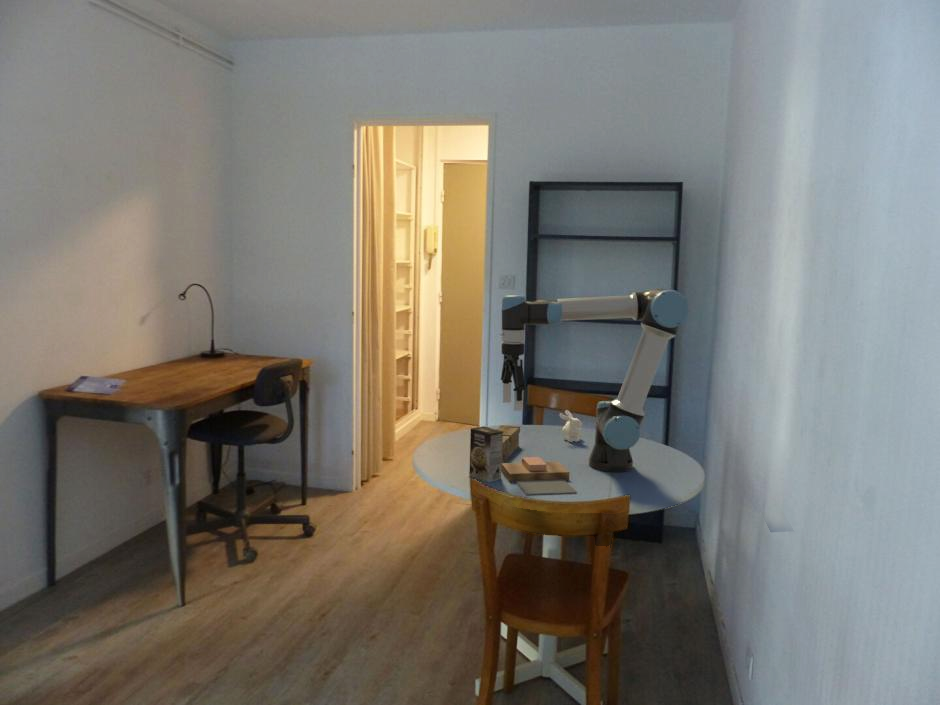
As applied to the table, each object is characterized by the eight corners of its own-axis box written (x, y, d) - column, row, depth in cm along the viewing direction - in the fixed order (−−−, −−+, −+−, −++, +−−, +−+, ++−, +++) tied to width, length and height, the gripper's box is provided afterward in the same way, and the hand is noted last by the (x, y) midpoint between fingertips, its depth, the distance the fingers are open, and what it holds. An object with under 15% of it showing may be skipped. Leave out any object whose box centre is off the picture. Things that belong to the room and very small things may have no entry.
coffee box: (468, 476, 228) (469, 428, 226) (482, 472, 233) (483, 425, 231) (488, 483, 222) (489, 433, 220) (502, 479, 226) (503, 430, 224)
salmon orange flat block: (521, 463, 236) (522, 457, 236) (538, 462, 237) (539, 457, 237) (528, 470, 227) (529, 465, 227) (546, 470, 228) (546, 464, 228)
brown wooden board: (557, 469, 239) (558, 461, 239) (569, 479, 227) (569, 472, 227) (501, 470, 236) (501, 463, 235) (509, 481, 224) (509, 473, 224)
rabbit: (582, 443, 275) (584, 413, 274) (558, 442, 276) (560, 413, 274) (579, 436, 287) (580, 407, 286) (556, 435, 288) (557, 406, 286)
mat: (563, 480, 227) (563, 479, 227) (576, 493, 214) (576, 492, 214) (515, 481, 224) (516, 480, 224) (526, 495, 211) (526, 493, 211)
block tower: (500, 468, 242) (520, 445, 270) (500, 444, 241) (521, 424, 269) (478, 465, 245) (500, 443, 272) (479, 442, 244) (501, 422, 271)
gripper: (492, 338, 239) (492, 399, 242) (512, 347, 215) (512, 414, 218) (513, 338, 241) (512, 398, 243) (535, 346, 217) (534, 413, 219)
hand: (512, 406), depth 231 cm, fingers open, 13 cm apart
